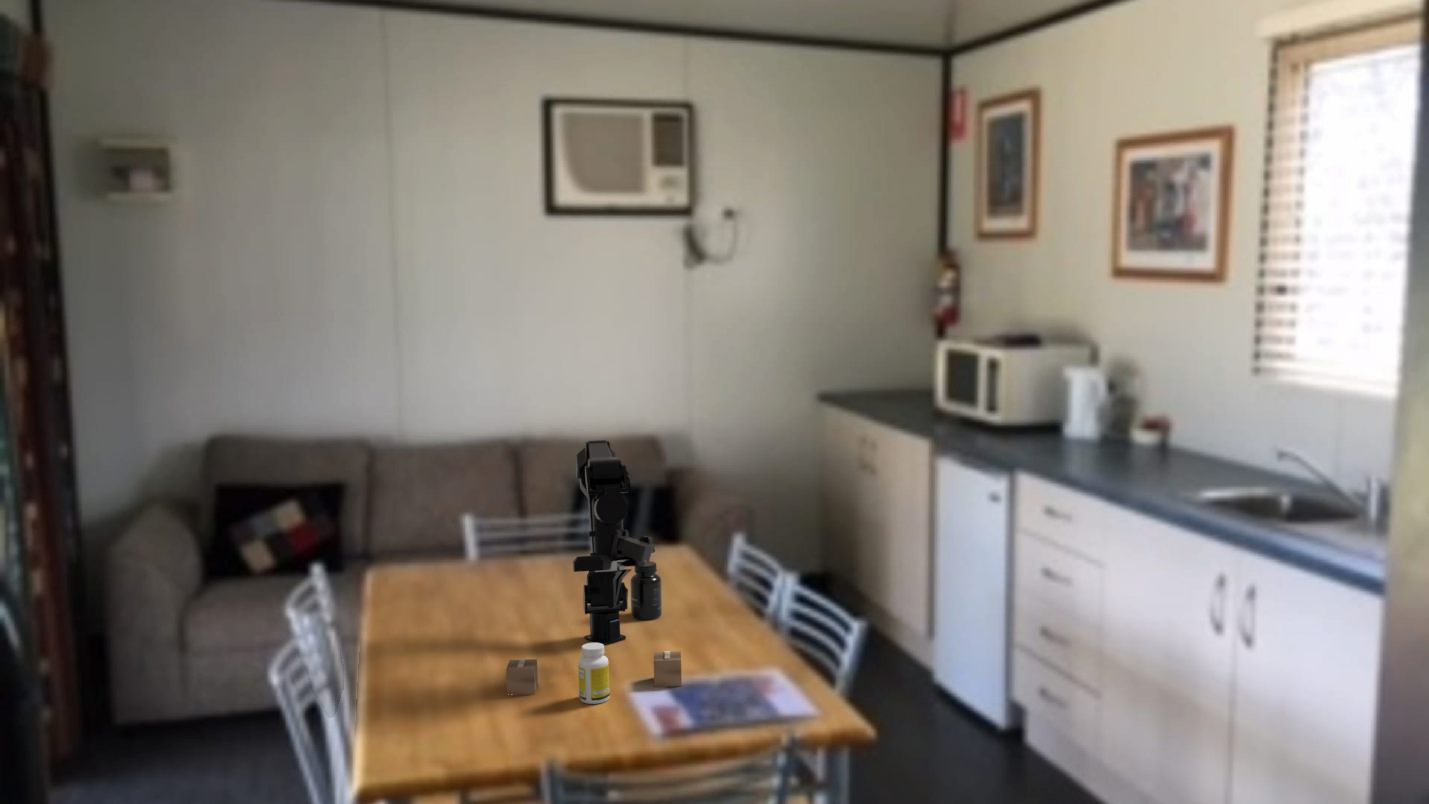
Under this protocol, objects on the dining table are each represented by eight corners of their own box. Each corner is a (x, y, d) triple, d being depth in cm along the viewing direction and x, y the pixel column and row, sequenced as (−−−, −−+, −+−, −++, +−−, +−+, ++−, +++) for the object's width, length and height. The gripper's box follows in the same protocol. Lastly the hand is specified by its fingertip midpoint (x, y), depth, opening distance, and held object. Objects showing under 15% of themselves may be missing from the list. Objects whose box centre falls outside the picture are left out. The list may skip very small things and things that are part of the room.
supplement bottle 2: (625, 619, 253) (624, 565, 251) (639, 610, 259) (637, 558, 258) (654, 622, 250) (652, 568, 249) (667, 613, 256) (665, 560, 255)
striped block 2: (654, 678, 216) (653, 650, 215) (681, 677, 216) (680, 649, 215) (654, 687, 211) (653, 659, 210) (681, 686, 211) (681, 658, 210)
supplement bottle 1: (614, 695, 207) (613, 642, 206) (602, 706, 202) (600, 652, 201) (587, 692, 208) (585, 639, 207) (574, 703, 203) (572, 649, 202)
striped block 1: (510, 686, 213) (509, 658, 212) (538, 685, 213) (536, 657, 212) (507, 696, 208) (505, 667, 207) (534, 695, 208) (533, 666, 208)
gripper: (624, 523, 208) (628, 610, 206) (666, 521, 225) (671, 602, 223) (569, 526, 212) (573, 612, 210) (615, 525, 229) (619, 604, 227)
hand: (612, 607), depth 218 cm, fingers closed
